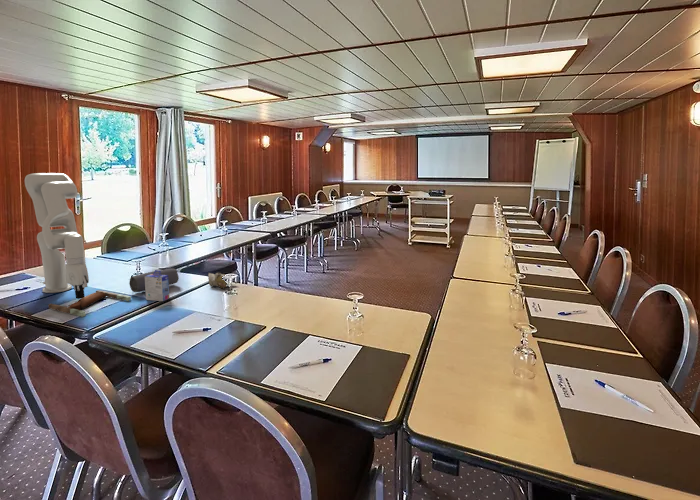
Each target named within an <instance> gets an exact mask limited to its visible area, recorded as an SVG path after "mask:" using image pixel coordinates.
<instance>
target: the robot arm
mask: <svg viewBox="0 0 700 500" xmlns="http://www.w3.org/2000/svg"><path fill="white" fill-rule="evenodd" d="M24 186H25V189H26V191H27V193H28V195H29V197H30V198H31V200H32V203H33V209H34V212H35V217H36V218H35V219H36V223H37V224H38V226H39V227H41V231H40V232H38V233H37V235H36V240H37V244H38V247H39V251H40V254H41V261H42V268H43V275H44V276H43V277H44V281H43V282H42V283H43V285H44V287H42V293H47V294H54V293H61V292H62V293H63V292H66V291H69V290H71V289H72V288H73V290H74V295H75V299H77V300H79V299H81V298H83V297H86V296H85V288H88V284H89V281H90V280H89V273H88V267H87V263H86V256H85V255H86V254H85V247H84V239H83V238H84V237H83V236H82V235H81V234H79V232H78V229H77V224H76V218H75V215H74V213H73V211H72V209H70V208H69V206H68V202H67V200H68V199H75V198H77V196H78V189H77V185H76V184H75V183H74V181H73V180H72V179H71V178H70V177H69V176H68V175H67V174H65V173H61V172H60V173H59V172H57V173H56V172H47V173H46V172H37V173H36V172H35V173H30V174H27V175H26V176H25V178H24ZM56 227H63V228H56ZM51 228H56V229H51ZM60 250H64V253H63V252H62V251H60Z"/></svg>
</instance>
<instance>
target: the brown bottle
mask: <svg viewBox="0 0 700 500" xmlns="http://www.w3.org/2000/svg"><path fill="white" fill-rule="evenodd" d="M106 298H107V297H106V295H105V293H104V292H96V291H95V292H93V293H90V294H88V295H86V296H85V297H83V298H80V299H77V301H75V302H74V303H73V302H72V304H70V305H69V306H68V307H69V308H73V309H77V310H82V311H83V310H84V309H86V308H88V307H89V306H91V305H92V304H95V303H97V302H98V301H100V300H103V299H106Z"/></svg>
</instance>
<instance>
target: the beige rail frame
mask: <svg viewBox="0 0 700 500" xmlns="http://www.w3.org/2000/svg"><path fill="white" fill-rule="evenodd" d="M96 292H104V293H105V295H106V296H108V297H107V298H110V297H112V298H111V299H115V298H116V300H119V299H121V300H120V301H124V300H126V301H125V302H130V301H129V300H131V301H132V296H130V295H124V294H120V293H115V292H111V291H110V292H109V291H104V290H99V289H97V290H95V293H96ZM47 306H48V309H49V310H54V311H57V312H60V313H61V312H62V313H65V314H70V315H74V316H78V317H81V318H83V317H86V316H87V314H86V313H87V312H86V311H85V310H83V309H82V310H77V309H73V308H69V306H64V305H60V304H56V303H48V305H47Z"/></svg>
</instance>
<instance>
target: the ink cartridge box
mask: <svg viewBox="0 0 700 500" xmlns="http://www.w3.org/2000/svg"><path fill="white" fill-rule="evenodd" d="M160 270H161V269H160ZM160 270H158V269H156V270H153V271H154V274H150V275H147V276H145V290H146V291H145V300H146V301H153V302H154V301H156V302H157V301H158V302H165V301H167V300H170V285H169V281H168V275H160V274H161V271H160ZM155 272H160V273H155Z"/></svg>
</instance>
